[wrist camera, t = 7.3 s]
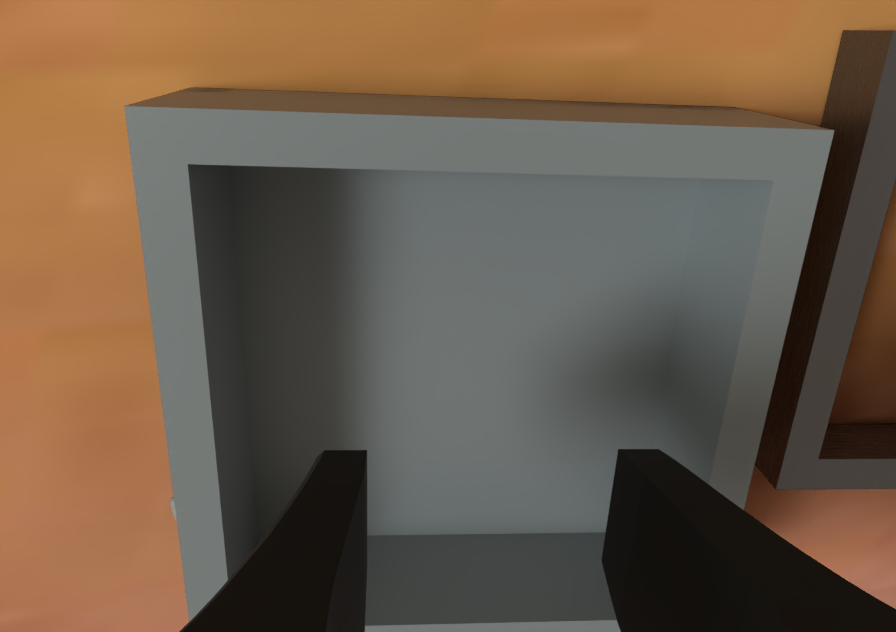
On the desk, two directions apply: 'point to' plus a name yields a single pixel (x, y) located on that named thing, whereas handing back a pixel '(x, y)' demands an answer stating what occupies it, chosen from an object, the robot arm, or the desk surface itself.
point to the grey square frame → (838, 285)
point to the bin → (461, 324)
